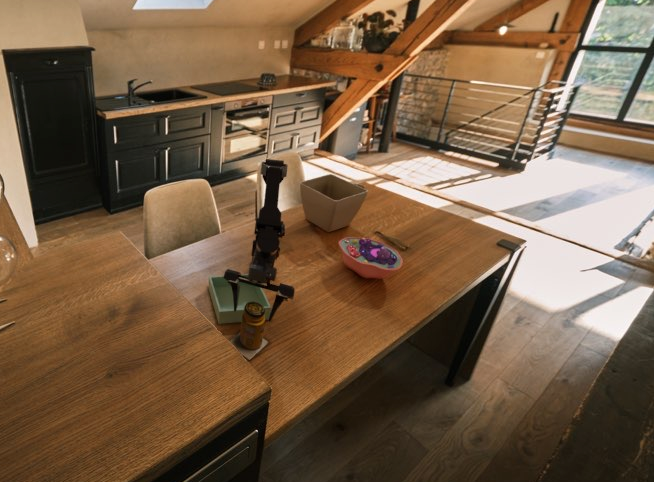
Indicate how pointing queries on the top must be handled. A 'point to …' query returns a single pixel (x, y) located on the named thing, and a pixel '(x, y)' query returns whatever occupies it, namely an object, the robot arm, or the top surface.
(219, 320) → the tray
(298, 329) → the top surface
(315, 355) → the top surface
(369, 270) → the cell model
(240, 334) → the condiment
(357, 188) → the flower pot
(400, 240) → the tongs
